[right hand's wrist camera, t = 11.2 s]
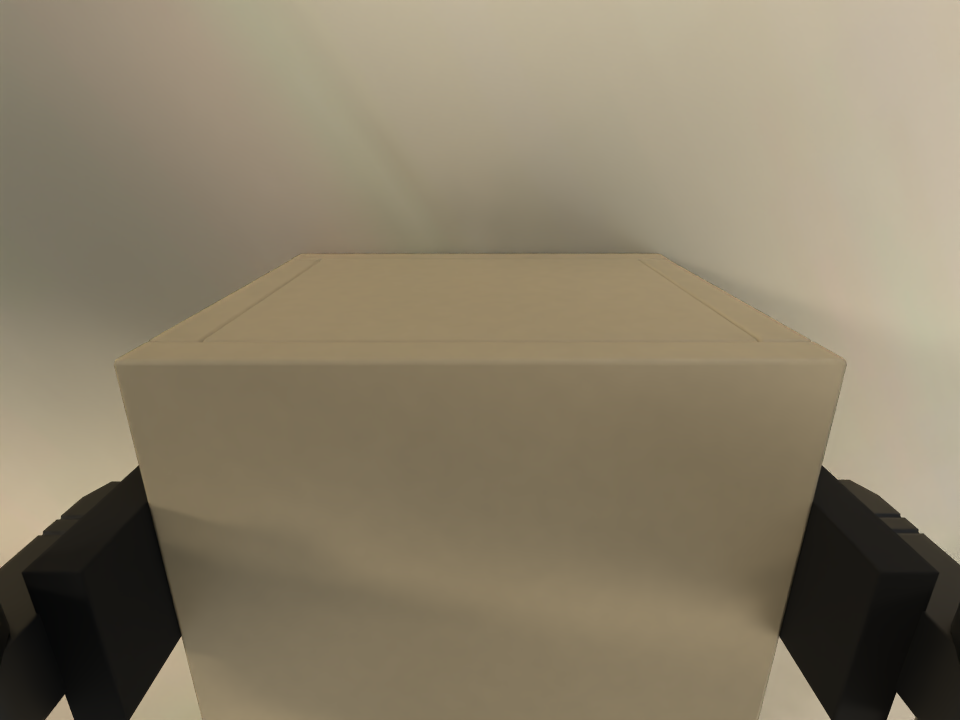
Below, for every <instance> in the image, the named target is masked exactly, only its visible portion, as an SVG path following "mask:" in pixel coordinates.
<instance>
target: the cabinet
mask: <svg viewBox="0 0 960 720" xmlns="http://www.w3.org/2000/svg"><path fill="white" fill-rule="evenodd" d="M114 367H115V371H116V375H117V379H118V383H119V387H120V391H121V395H122V399H123V403H124V407H125V411H126V415H127V419H128V423H129V427H130V431H131V435H132V439H133V443H134V447H135V451H136V455H137V459H138V463H139V467H140V471H141V475H142V479H143V483H144V487H145V491H146V495H147V499H148V503H149V507H150V511H151V515H152V519H153V523H154V527H155V531H156V535H157V539H158V543H159V547H160V551H161V555H162V559H163V563H164V567H165V571H166V575H167V579H168V583H169V587H170V591H171V595H172V599H173V603H174V608H175V612H176V616H177V620H178V624H179V628H180V632H181V636H182V640H183V644H184V648H185V652H186V656H187V660H188V664H189V668H190V672H191V676H192V680H193V684H194V688H195V692H196V696H197V700H198V704H199V708H200V712H201V716H202V720H758V719H759V715H760V711H761V707H762V703H763V699H764V695H765V691H766V687H767V683H768V679H769V675H770V671H771V667H772V663H773V659H774V655H775V651H776V647H777V643H778V639H779V635H780V631H781V627H782V623H783V619H784V615H785V611H786V606H787V602H788V598H789V594H790V590H791V586H792V582H793V578H794V574H795V570H796V566H797V562H798V558H799V554H800V550H801V546H802V542H803V538H804V534H805V530H806V526H807V522H808V518H809V514H810V510H811V506H812V502H813V498H814V494H815V490H816V486H817V482H818V478H819V474H820V470H821V466H822V462H823V458H824V454H825V450H826V446H827V442H828V438H829V434H830V430H831V426H832V422H833V418H834V414H835V410H836V406H837V402H838V398H839V394H840V390H841V385H842V381H843V377H844V373H845V369H846V360H845V359H844V358H842V357H840V356H838V355H837V354H835V353H833V352H831V351H830V350H828V349H826V348H824V347H822V346H821V345H819V344H817V343H815V342H811V340H810V339H808V338H806V337H805V336H803V335H801V334H799V333H797V332H796V331H794V330H792V329H790V328H789V327H787V326H785V325H783V324H782V323H780V322H778V321H776V320H774V319H773V318H771V317H769V316H767V315H766V314H764V313H762V312H760V311H759V310H757V309H755V308H753V307H751V306H750V305H748V304H746V303H744V302H743V301H741V300H739V299H737V298H736V297H734V296H732V295H730V294H728V293H727V292H725V291H723V290H721V289H720V288H718V287H716V286H714V285H713V284H711V283H709V282H707V281H705V280H704V279H702V278H700V277H698V276H697V275H695V274H693V273H691V272H690V271H688V270H686V269H684V268H682V267H681V266H679V265H677V264H675V263H674V262H672V261H670V260H669V259H668V258H666V257H664V256H662V255H661V254H300V255H298V256H296V257H295V258H293V259H292V260H290V261H288V262H286V263H285V264H283V265H281V266H279V267H278V268H276V269H274V270H272V271H271V272H269V273H267V274H265V275H264V276H262V277H260V278H258V279H256V280H255V281H253V282H251V283H249V284H248V285H246V286H244V287H242V288H241V289H239V290H237V291H235V292H234V293H232V294H230V295H228V296H227V297H225V298H223V299H221V300H219V301H218V302H216V303H214V304H212V305H211V306H209V307H207V308H205V309H204V310H202V311H200V312H198V313H197V314H195V315H193V316H191V317H189V318H188V319H186V320H184V321H182V322H181V323H179V324H177V325H175V326H174V327H172V328H170V329H168V330H167V331H165V332H163V333H161V334H159V335H158V336H156V337H154V338H152V339H151V340H149V342H147V343H144V344H142V345H141V346H139V347H137V348H135V349H134V350H132V351H130V352H128V353H127V354H125V355H123V356H121V357H119V358H118V359H116V360H115V363H114Z"/></svg>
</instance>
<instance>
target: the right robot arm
mask: <svg viewBox="0 0 960 720" xmlns="http://www.w3.org/2000/svg"><path fill="white" fill-rule="evenodd" d="M779 636H780V638H781V640H782V641H783V643H784V645H785V646H786V648H787V649H788V651H789V653H790V654H791V656H792V657H793V659H794V661H795V662H796V664H797V665H798V667H799V669H800V670H801V672H802V674H803V675H804V677H805V678H806V680H807V682H808V683H809V685H810V686H811V688H812V690H813V691H814V693H815V695H816V696H817V698H818V699H819V701H820V703H821V704H822V706H823V707H824V709H825V711H826V712H827V714H828V715H829V717H830V719H831V720H887V717H888V714H889V712H890V709H891V706H892V703H893V700H894V698H895V695H896V692H897V693H898V694H899V696H900V697H901V698H902V700H903V701H904V702H905V703H906V705H907V706H908V707H909V709H910V710H911V711H912V713H913V714H914V715H915V716H916V717H915V720H960V565H959V564H958V563H957V562H956V561H955V560H953V559H952V558H951V557H950V556H949V555H948V554H946V553H945V552H944V551H943V550H942V549H941V548H939V547H938V546H937V545H936V544H935V543H934V542H932V541H931V540H930V539H929V538H928V537H927V536H925V535H924V534H919V532H918V529H917V528H916V527H915V526H914V525H913V524H911V523H910V522H909V521H908V520H907V519H906V518H901V516H900V513H899V512H897V511H896V510H895V509H894V508H893V507H892V506H890V505H889V504H888V503H887V502H886V501H885V500H883V499H882V498H881V497H880V496H879V495H877V494H875V493H873V492H871V491H869V490H868V489H866V488H864V487H862V486H860V485H858V484H856V483H855V482H853V481H851V480H837V479H836V478H835V477H834V476H833V475H832V474H831V473H830V472H829V471H827V470H826V469H825V468H824V467H823V466H821V470H820V474H819V478H818V482H817V486H816V490H815V494H814V498H813V502H812V506H811V510H810V514H809V518H808V522H807V526H806V530H805V534H804V538H803V542H802V546H801V550H800V554H799V558H798V562H797V566H796V570H795V574H794V578H793V582H792V586H791V590H790V594H789V598H788V602H787V606H786V611H785V615H784V619H783V623H782V627H781V631H780V635H779ZM180 637H181V632H180V628H179V624H178V620H177V616H176V612H175V608H174V603H173V599H172V595H171V591H170V587H169V583H168V579H167V575H166V571H165V567H164V563H163V559H162V555H161V551H160V547H159V543H158V539H157V535H156V531H155V527H154V523H153V519H152V515H151V511H150V507H149V503H148V499H147V495H146V491H145V487H144V483H143V479H142V475H141V471H140V467H139V466H138V467H136V468H135V469H134V470H133V471H132V472H131V473H130V474H129V475H128V476H127V477H125V478H124V479H123V480H122V481H121V482H110V483H108V484H106V485H104V486H103V487H101V488H99V489H97V490H95V491H93V492H91V493H90V494H88V495H86V496H84V497H82V498H81V499H80V500H79V501H78V502H77V503H75V504H74V505H73V506H72V507H71V508H70V509H68V510H67V511H66V512H65V513H64V514H63V515H61V519H60V520H56V521H55V522H53V523H52V524H51V525H50V526H49V527H48V528H46V529H45V530H44V531H43V535H38V536H37V537H36V538H35V539H34V540H33V541H31V542H30V543H29V544H28V545H27V546H26V547H24V548H23V549H22V550H21V551H20V552H19V553H17V554H16V555H15V556H14V557H13V558H12V559H10V560H9V561H8V562H7V563H6V564H5V565H4V566H2V567H1V568H0V720H45V719H46V718H47V717H48V715H49V714H50V713H51V711H52V710H53V709H54V707H55V706H56V705H57V704H58V702H59V701H60V700H61V698H62V697H63V696H64V694H65V695H66V698H67V701H68V704H69V707H70V709H71V712H72V715H73V718H74V720H130V718H131V716H132V715H133V713H134V712H135V710H136V708H137V707H138V705H139V704H140V702H141V700H142V699H143V697H144V695H145V694H146V692H147V691H148V689H149V687H150V686H151V684H152V683H153V681H154V679H155V678H156V676H157V674H158V673H159V671H160V670H161V668H162V666H163V665H164V663H165V662H166V660H167V658H168V657H169V655H170V654H171V652H172V650H173V649H174V647H175V645H176V644H177V642H178V641H179V639H180Z"/></svg>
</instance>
